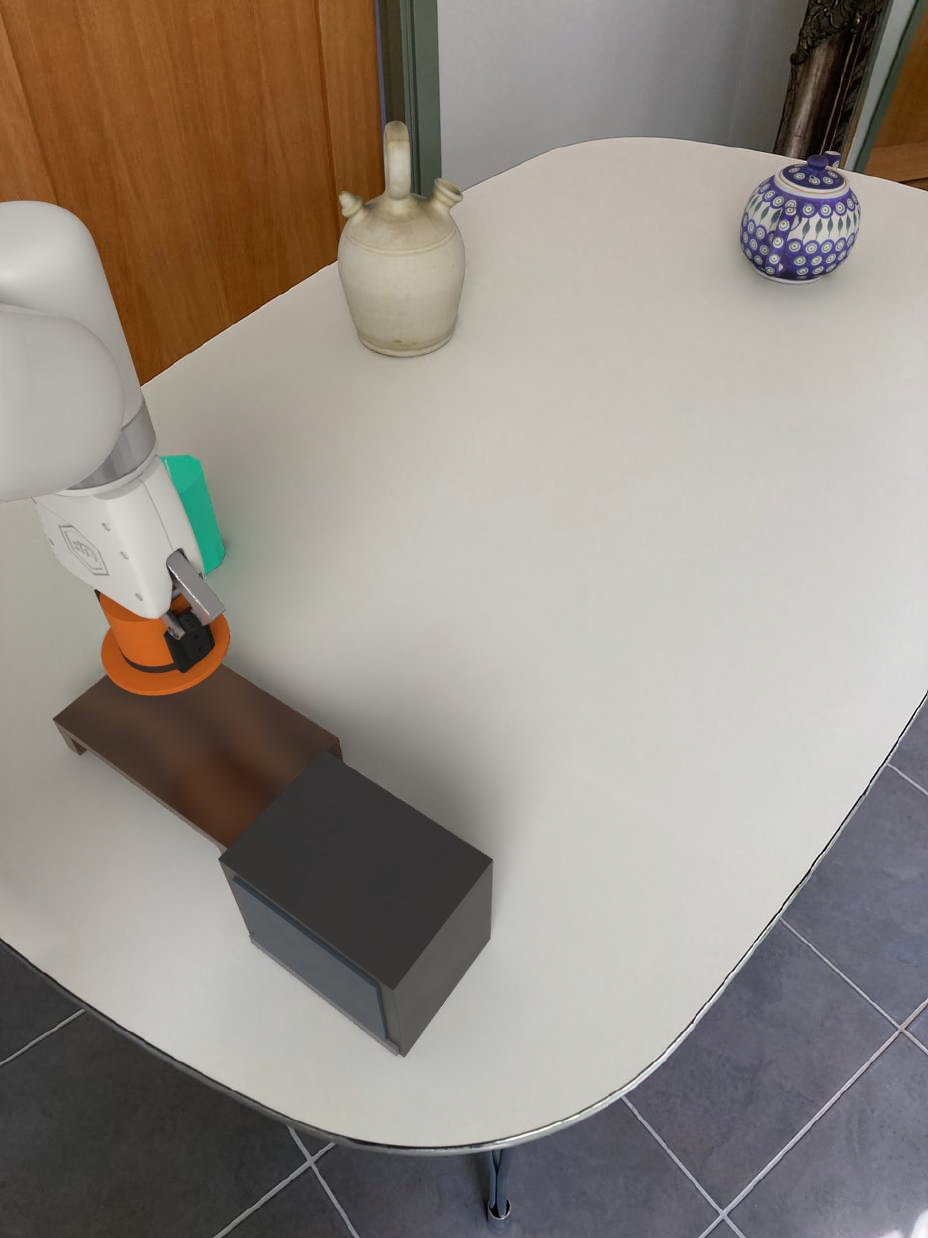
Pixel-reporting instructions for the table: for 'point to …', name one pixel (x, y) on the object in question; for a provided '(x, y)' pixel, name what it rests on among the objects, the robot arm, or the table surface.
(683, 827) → the table surface
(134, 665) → the hat
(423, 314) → the jug
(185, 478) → the candle
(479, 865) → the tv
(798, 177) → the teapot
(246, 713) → the stand
